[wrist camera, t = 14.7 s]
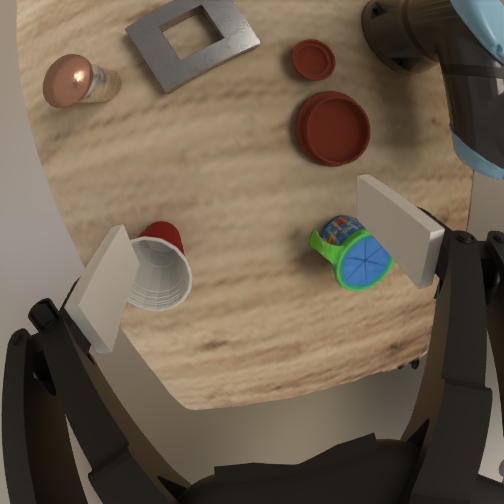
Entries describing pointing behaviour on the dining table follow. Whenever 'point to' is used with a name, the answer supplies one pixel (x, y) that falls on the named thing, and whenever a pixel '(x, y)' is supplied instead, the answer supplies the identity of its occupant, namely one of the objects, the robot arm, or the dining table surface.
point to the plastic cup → (160, 269)
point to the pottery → (328, 112)
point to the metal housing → (180, 72)
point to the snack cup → (352, 253)
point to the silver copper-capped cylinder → (79, 82)
